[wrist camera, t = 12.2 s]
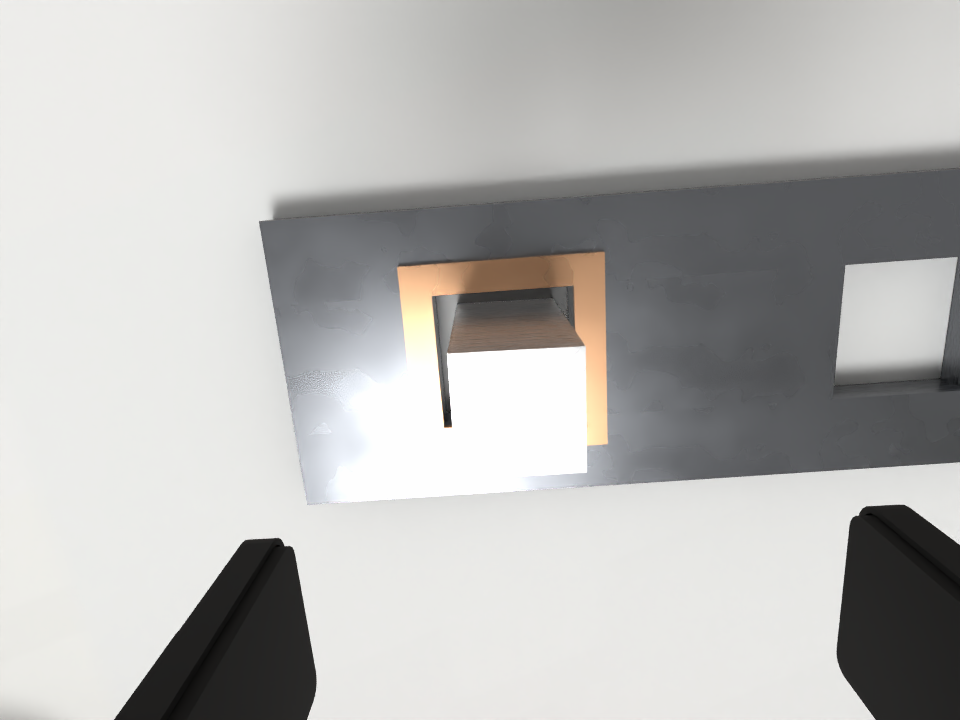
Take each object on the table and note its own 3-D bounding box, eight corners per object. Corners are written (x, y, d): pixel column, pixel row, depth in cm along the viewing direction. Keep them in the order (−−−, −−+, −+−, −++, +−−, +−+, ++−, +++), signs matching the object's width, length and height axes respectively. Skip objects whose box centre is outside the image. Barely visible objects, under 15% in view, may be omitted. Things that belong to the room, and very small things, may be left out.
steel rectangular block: (552, 298, 25) (585, 346, 17) (554, 388, 26) (586, 472, 18) (457, 303, 25) (447, 354, 17) (463, 393, 26) (456, 479, 18)
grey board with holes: (1134, 154, 23) (1186, 151, 21) (1072, 438, 26) (1113, 455, 25) (272, 219, 24) (256, 221, 22) (316, 488, 27) (305, 508, 25)
